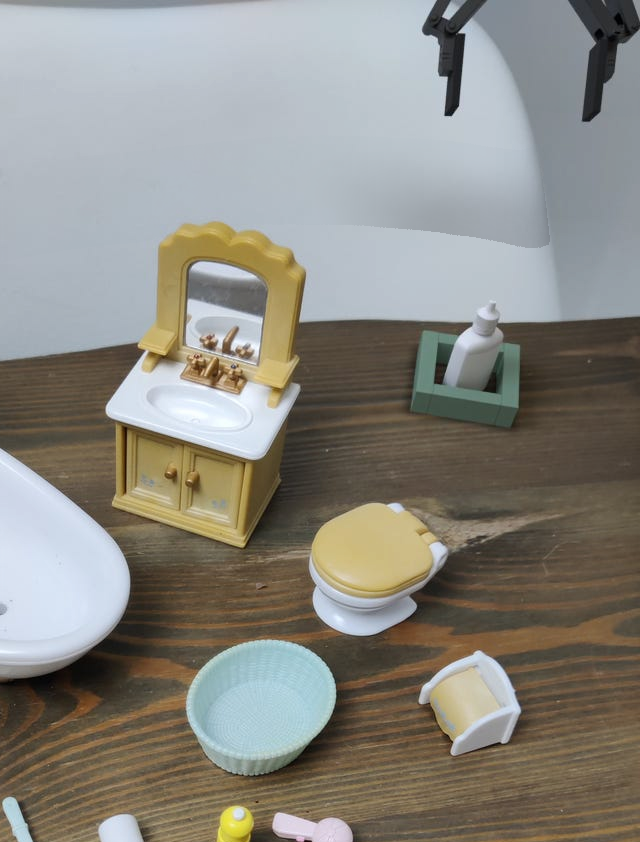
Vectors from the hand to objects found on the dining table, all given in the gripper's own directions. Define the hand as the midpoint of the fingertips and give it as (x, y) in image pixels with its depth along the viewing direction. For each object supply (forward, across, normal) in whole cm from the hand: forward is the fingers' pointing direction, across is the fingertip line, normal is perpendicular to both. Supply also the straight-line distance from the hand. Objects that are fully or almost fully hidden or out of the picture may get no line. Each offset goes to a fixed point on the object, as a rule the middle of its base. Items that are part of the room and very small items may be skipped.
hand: (521, 114), depth 96 cm
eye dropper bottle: (+26, 0, -12) cm, 28 cm away
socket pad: (+25, 0, -12) cm, 28 cm away
